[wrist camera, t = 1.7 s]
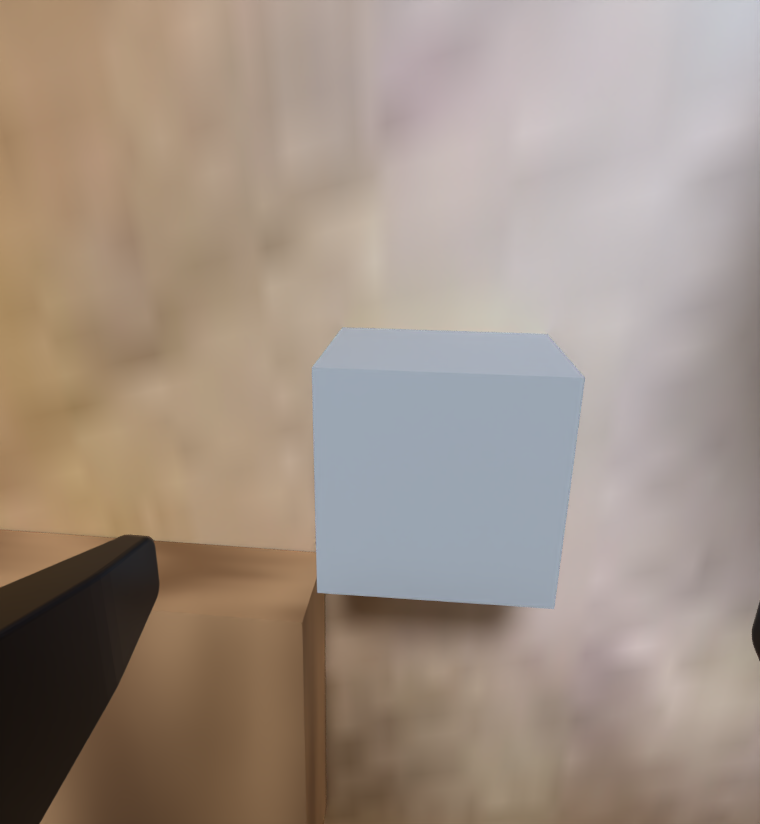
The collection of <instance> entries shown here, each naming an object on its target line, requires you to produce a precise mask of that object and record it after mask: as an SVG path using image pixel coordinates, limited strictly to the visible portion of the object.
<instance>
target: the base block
mask: <svg viewBox="0 0 760 824" xmlns="http://www.w3.org/2000/svg"><path fill="white" fill-rule="evenodd" d="M113 539H116V538H108V537H94V536H80V535H66V534H52V533H38V532H24V531H11V530H0V587H2V586H5V585H7V584H9V583H12V582H14V581H16V580H19V579H21V578H24V577H26V576H28V575H31V574H33V573H35V572H38V571H40V570H42V569H45V568H47V567H50V566H52V565H54V564H57V563H59V562H61V561H64V560H66V559H68V558H71V557H73V556H76V555H78V554H80V553H83V552H85V551H87V550H90V549H92V548H94V547H97V546H99V545H102V544H104V543H106V542H109V541H111V540H113ZM154 543H155V547H156V555H157V564H158V572H159V582H160V585H159V593H158V597H157V599H156V602H155V604H154V606H153V609H152V611H151V613H150V615H149V618H148V620H147V622H146V624H145V627H144V629H143V631H142V634H141V636H140V638H139V640H138V643H137V645H136V647H135V649H134V652H133V654H132V656H131V659H130V661H129V663H128V665H127V668H126V670H125V672H124V674H123V676H122V678H121V681H120V683H119V685H118V687H117V689H116V691H115V692H114V694H113V696H112V698H111V700H110V702H109V703H108V705H107V707H106V709H105V710H104V712H103V714H102V716H101V717H100V719H99V721H98V723H97V724H96V726H95V728H94V730H93V731H92V733H91V735H90V737H89V738H88V740H87V742H86V744H85V745H84V747H83V749H82V751H81V752H80V754H79V756H78V758H77V759H76V761H75V763H74V765H73V766H72V768H71V770H70V772H69V773H68V775H67V777H66V779H65V780H64V782H63V784H62V786H61V787H60V789H59V791H58V793H57V794H56V796H55V798H54V800H53V801H52V803H51V805H50V807H49V808H48V810H47V812H46V814H45V815H44V817H43V819H42V821H41V822H40V824H323V823H324V818H325V812H326V700H325V593H317V565H316V552H303V551H289V550H275V549H261V548H247V547H233V546H219V545H206V544H192V543H178V542H164V541H154Z"/></svg>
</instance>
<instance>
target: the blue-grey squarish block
mask: <svg viewBox="0 0 760 824" xmlns="http://www.w3.org/2000/svg"><path fill="white" fill-rule="evenodd" d="M584 382H585V377H584V376H583V375H582V374H581V373H580V372H579V370H578V369H577V368H576V367H575V366H574V365H573V363H572V362H571V361H570V360H569V359H568V358H567V356H566V355H565V354H564V353H563V352H562V351H561V349H560V348H559V347H558V346H557V345H556V344H555V342H554V341H553V340H552V339H551V338H550V337H549V335H548V334H528V333H497V332H467V331H436V330H406V329H375V328H345V327H342V329H341V330H340V331H339V333H338V334H337V335H336V337H335V338H334V339H333V340H332V342H331V343H330V344H329V346H328V347H327V348H326V350H325V351H324V352H323V354H322V355H321V356H320V358H319V359H318V360H317V362H316V363H315V364H314V365H313V367H312V393H313V436H314V479H315V522H316V565H317V593H327V594H342V595H356V596H371V597H386V598H401V599H415V600H430V601H445V602H460V603H474V604H489V605H504V606H518V607H533V608H548V609H554V606H555V599H556V591H557V584H558V576H559V569H560V561H561V554H562V546H563V539H564V531H565V524H566V516H567V509H568V501H569V494H570V486H571V479H572V471H573V464H574V456H575V449H576V442H577V434H578V427H579V419H580V412H581V404H582V397H583V389H584Z"/></svg>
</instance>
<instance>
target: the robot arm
mask: <svg viewBox="0 0 760 824" xmlns="http://www.w3.org/2000/svg"><path fill="white" fill-rule="evenodd" d="M159 585H160V582H159V572H158V564H157V555H156V547H155V543H154V541H153V539H152V538H151V537H149V536H141V535H123V536H120V537H118V538H116V539H113V540H111V541H109V542H106V543H104V544H102V545H99V546H97V547H94V548H92V549H90V550H87V551H85V552H83V553H80V554H78V555H76V556H73V557H71V558H68V559H66V560H64V561H61V562H59V563H57V564H54V565H52V566H50V567H47V568H45V569H42V570H40V571H38V572H35V573H33V574H31V575H28V576H26V577H24V578H21V579H19V580H16V581H14V582H12V583H9V584H7V585H5V586H2V587H0V824H40V822H41V821H42V819H43V817H44V815H45V814H46V812H47V810H48V808H49V807H50V805H51V803H52V801H53V800H54V798H55V796H56V794H57V793H58V791H59V789H60V787H61V786H62V784H63V782H64V780H65V779H66V777H67V775H68V773H69V772H70V770H71V768H72V766H73V765H74V763H75V761H76V759H77V758H78V756H79V754H80V752H81V751H82V749H83V747H84V745H85V744H86V742H87V740H88V738H89V737H90V735H91V733H92V731H93V730H94V728H95V726H96V724H97V723H98V721H99V719H100V717H101V716H102V714H103V712H104V710H105V709H106V707H107V705H108V703H109V702H110V700H111V698H112V696H113V694H114V692H115V691H116V689H117V687H118V685H119V683H120V681H121V678H122V676H123V674H124V672H125V670H126V668H127V665H128V663H129V661H130V659H131V656H132V654H133V652H134V649H135V647H136V645H137V643H138V640H139V638H140V636H141V634H142V631H143V629H144V627H145V624H146V622H147V620H148V618H149V615H150V613H151V611H152V609H153V606H154V604H155V602H156V599H157V597H158V593H159ZM752 641H753V645H754V648H755V651H756V653H757V656H758V658H759V660H760V602H759V606H758V609H757V613H756V617H755V620H754V624H753V628H752Z"/></svg>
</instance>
